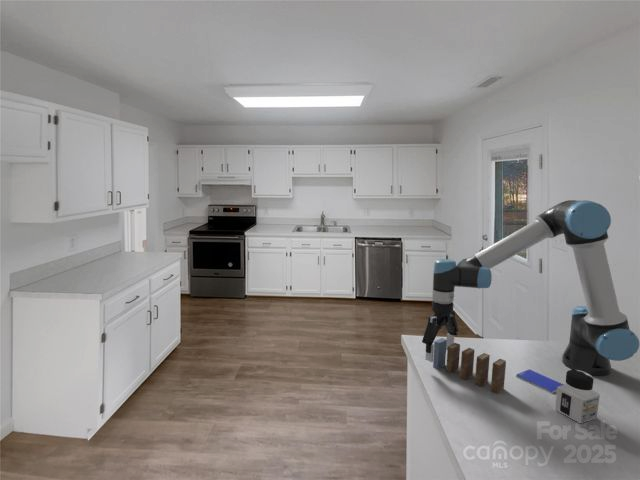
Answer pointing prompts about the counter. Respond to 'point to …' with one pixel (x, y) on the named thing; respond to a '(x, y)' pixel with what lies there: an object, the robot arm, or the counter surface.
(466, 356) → the domino
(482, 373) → the domino
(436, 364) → the end domino
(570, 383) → the container
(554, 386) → the hard drive
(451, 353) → the domino
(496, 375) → the domino
